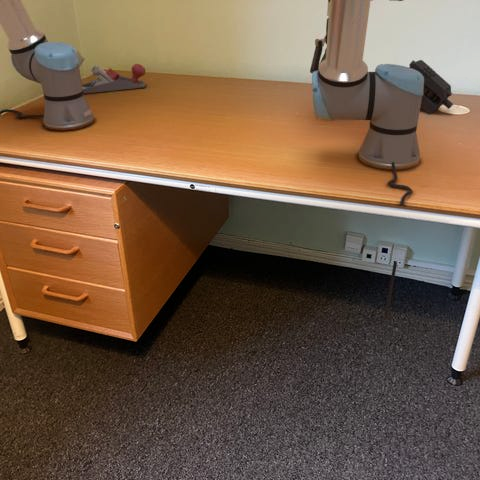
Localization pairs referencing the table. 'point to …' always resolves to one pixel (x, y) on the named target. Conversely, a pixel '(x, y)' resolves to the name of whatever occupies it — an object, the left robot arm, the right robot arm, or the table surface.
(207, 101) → the table surface
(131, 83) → the hand plane
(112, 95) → the table surface
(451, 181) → the table surface
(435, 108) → the tool
